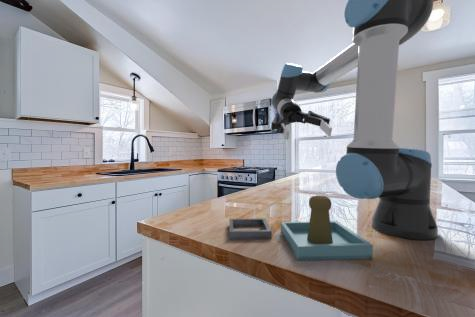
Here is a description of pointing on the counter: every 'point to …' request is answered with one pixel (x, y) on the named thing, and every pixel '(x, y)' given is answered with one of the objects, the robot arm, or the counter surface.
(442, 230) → the counter surface
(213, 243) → the counter surface
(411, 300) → the counter surface
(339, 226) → the tray
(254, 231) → the grey square holder
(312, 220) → the olive tall rounded piece
